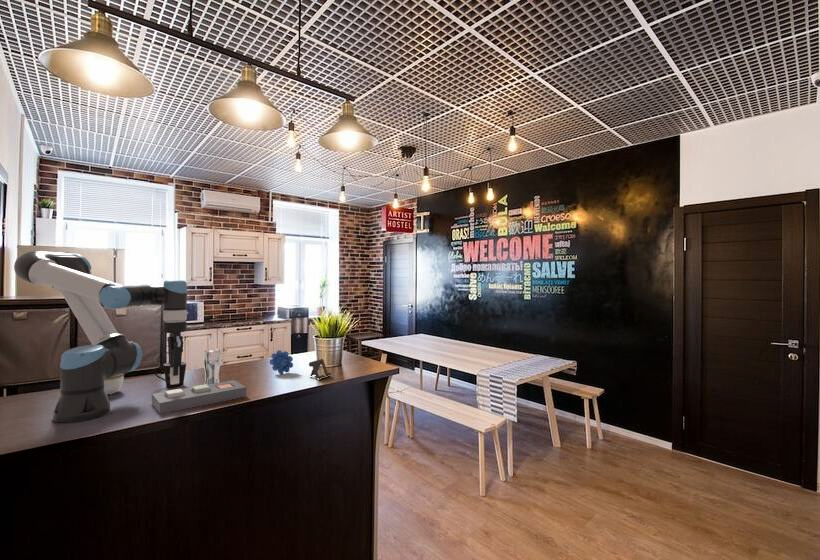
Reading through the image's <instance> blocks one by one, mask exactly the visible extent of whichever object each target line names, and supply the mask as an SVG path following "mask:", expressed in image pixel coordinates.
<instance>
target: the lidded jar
mask: <svg viewBox="0 0 820 560" xmlns="http://www.w3.org/2000/svg"><path fill="white" fill-rule="evenodd" d="M124 376H125V374H120V375H117V376H113V377H110V378H106V379H104V390H105V393H106V395H107V396H108V394H110V395H113V393H114V394H116V393H117V392H118V391H119V390H120V389H121V387H122V386H123V384H124V380H125V379H124V378H125V377H124ZM115 392H116V393H115Z"/></svg>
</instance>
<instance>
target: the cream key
mask: <svg viewBox="0 0 820 560" xmlns="http://www.w3.org/2000/svg"><path fill="white" fill-rule="evenodd" d="M181 389H182V388H174V389H170V390H165V391H164V392H165V397H166V398H173V397H179V396H184V391H183V390H181Z"/></svg>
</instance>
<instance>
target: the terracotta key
mask: <svg viewBox="0 0 820 560" xmlns="http://www.w3.org/2000/svg"><path fill="white" fill-rule="evenodd" d="M229 387H234V386H232V385H231V384H225V385H219V386H217V388H219V389H223V388H229Z"/></svg>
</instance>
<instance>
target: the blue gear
mask: <svg viewBox="0 0 820 560" xmlns="http://www.w3.org/2000/svg"><path fill="white" fill-rule="evenodd" d="M270 356H271V359H270V360H269V364H270V365H271V366H272V367H271V369H272V371H274V372H276V371H277V372H278V374H280V373H282V374H284V372H285V373H287V372H288V373H289V372H290V371H291V370H290V369H292V368H293V367H294V363H293V356H291V355H289V352H288V351H282V350H280V349H279V350H277V351H276V353H275V352H273V353H272V354H271V355H270Z"/></svg>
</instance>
